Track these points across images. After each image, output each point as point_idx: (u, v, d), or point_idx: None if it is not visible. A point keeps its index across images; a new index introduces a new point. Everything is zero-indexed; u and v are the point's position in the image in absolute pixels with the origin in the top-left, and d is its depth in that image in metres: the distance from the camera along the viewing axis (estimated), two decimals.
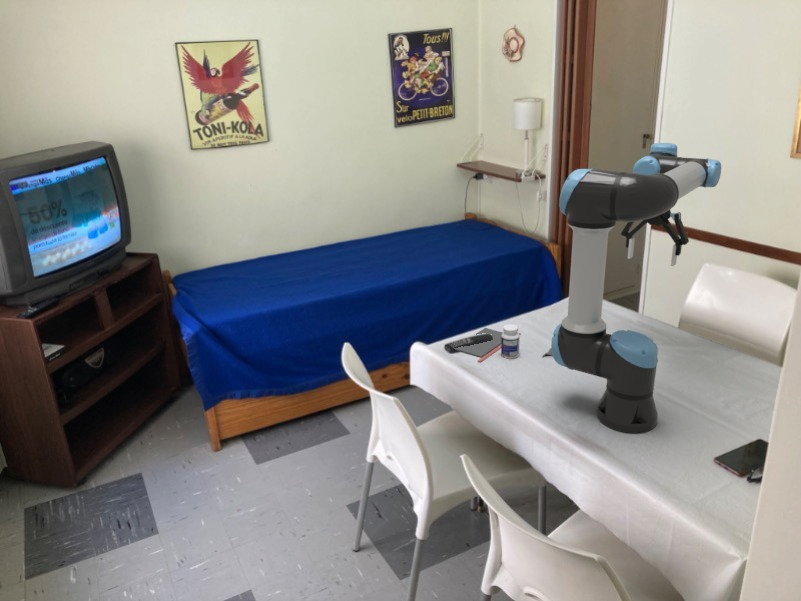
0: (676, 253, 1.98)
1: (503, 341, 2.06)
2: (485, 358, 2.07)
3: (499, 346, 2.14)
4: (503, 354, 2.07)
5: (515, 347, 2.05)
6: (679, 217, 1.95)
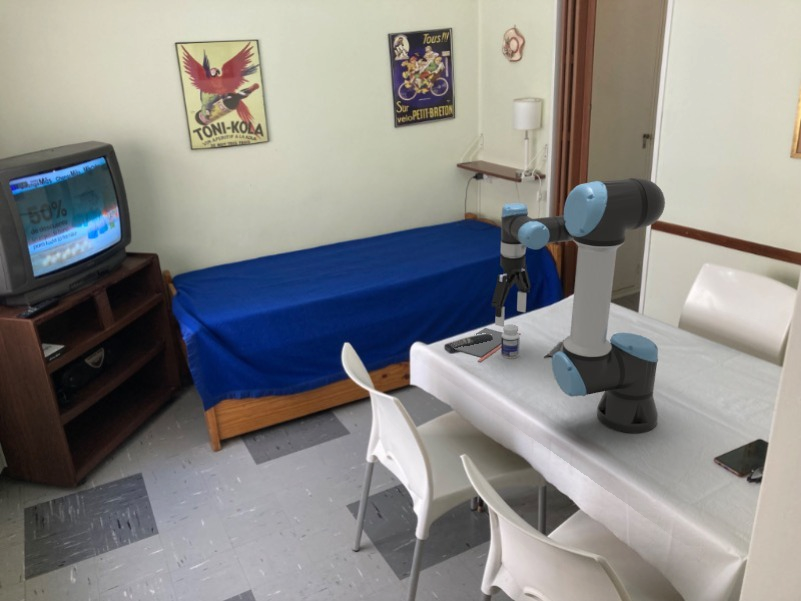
0: None
1: (503, 341, 2.06)
2: (485, 358, 2.07)
3: (499, 346, 2.14)
4: (503, 354, 2.07)
5: (515, 347, 2.05)
6: (500, 279, 1.94)
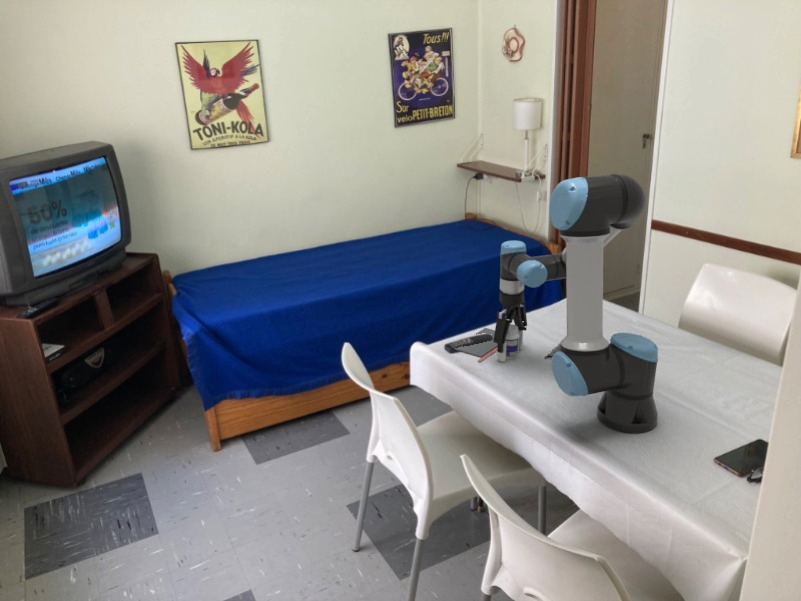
0: None
1: None
2: (485, 358, 2.07)
3: None
4: None
5: (515, 347, 2.05)
6: (499, 317, 1.98)
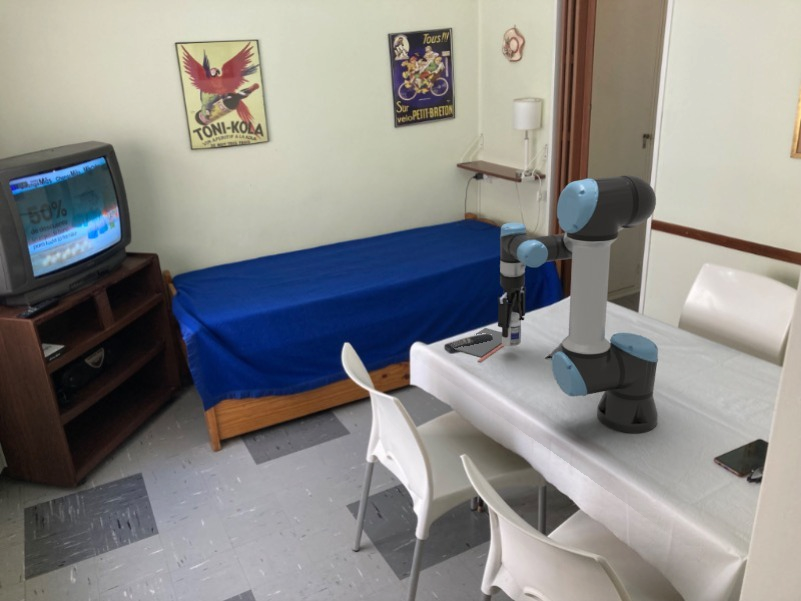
0: None
1: None
2: (485, 358, 2.07)
3: (499, 346, 2.14)
4: None
5: (517, 335, 2.03)
6: (500, 302, 1.97)
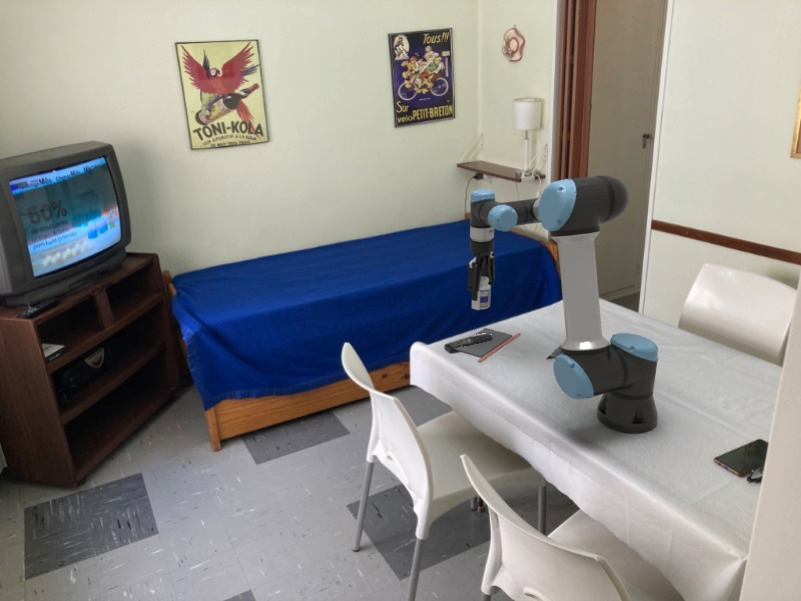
0: None
1: None
2: (485, 358, 2.07)
3: (499, 346, 2.14)
4: None
5: (486, 298, 2.10)
6: (470, 266, 2.04)
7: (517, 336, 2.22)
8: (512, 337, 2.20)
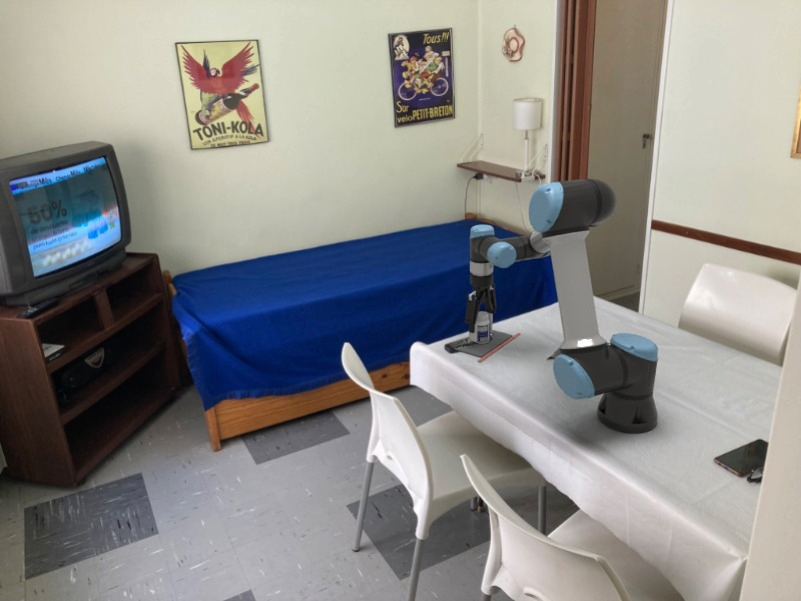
0: None
1: None
2: (485, 358, 2.07)
3: (499, 346, 2.14)
4: None
5: (485, 333, 2.15)
6: (469, 298, 2.07)
7: (517, 336, 2.22)
8: (512, 337, 2.20)
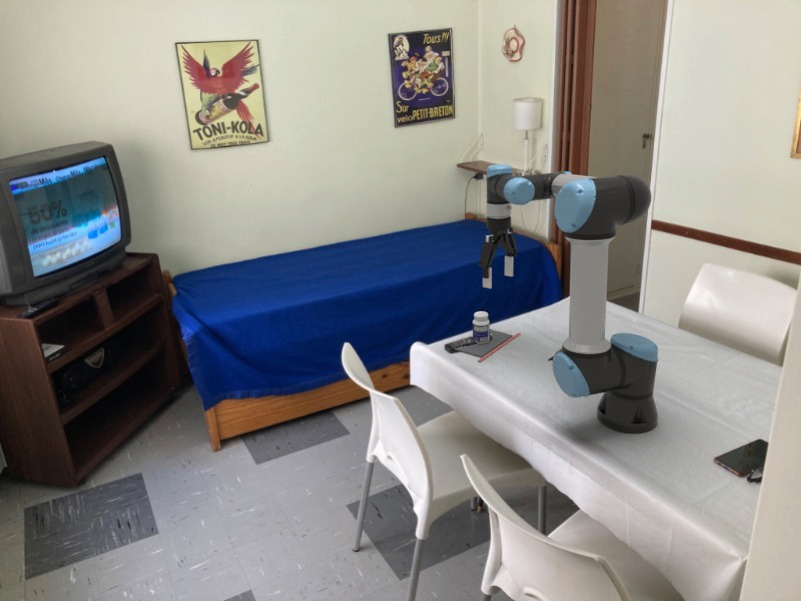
0: None
1: (474, 327, 2.15)
2: (485, 358, 2.07)
3: (499, 346, 2.14)
4: (474, 340, 2.17)
5: (485, 333, 2.15)
6: (486, 240, 1.95)
7: (517, 336, 2.22)
8: (512, 337, 2.20)
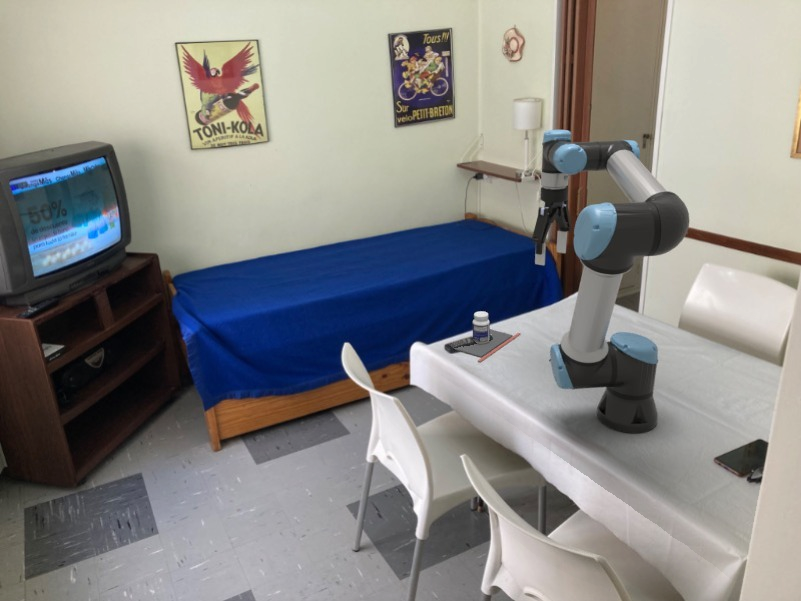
0: None
1: (474, 327, 2.15)
2: (485, 358, 2.07)
3: (499, 346, 2.14)
4: (474, 340, 2.17)
5: (485, 333, 2.15)
6: (541, 212, 1.79)
7: (517, 336, 2.22)
8: (512, 337, 2.20)
